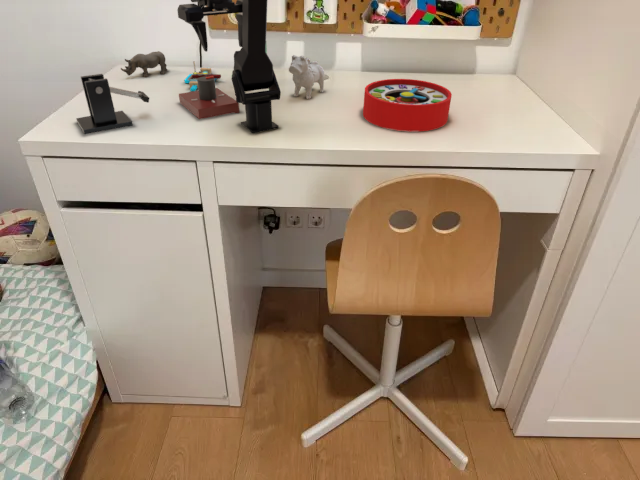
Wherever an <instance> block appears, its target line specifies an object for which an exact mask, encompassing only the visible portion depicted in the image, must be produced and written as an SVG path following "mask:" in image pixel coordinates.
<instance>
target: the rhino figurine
mask: <svg viewBox="0 0 640 480" xmlns="http://www.w3.org/2000/svg"><path fill="white" fill-rule="evenodd" d="M124 62H126V63H127V64H128V65H126V66H125V65H124V68H122V67H120V70H121V71H122V72H124V73H125V74H126V75H127V76H128V77H129V76H131V75H132V74H134V73H135V72H136V71H137V69H138V68H140V69H141V70H142V71H143V72H142V75H143V77H144V78H147V77H149V74H148V73H149V71H148V69H154V68H156V67H158V66H160V71H159V74H160V75H165V74H166V72H168V68H167V66H168V65H167V63H166V56H165V54H164V52H162V51H159V50H157V51H152V52H149V53H145V54H144V53H137V54H135V55H134V56H133V57H131V58H130V59H127V58H124Z"/></svg>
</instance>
